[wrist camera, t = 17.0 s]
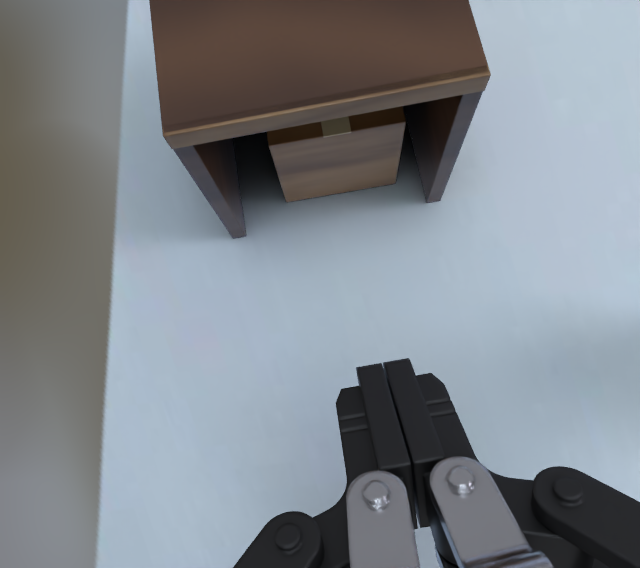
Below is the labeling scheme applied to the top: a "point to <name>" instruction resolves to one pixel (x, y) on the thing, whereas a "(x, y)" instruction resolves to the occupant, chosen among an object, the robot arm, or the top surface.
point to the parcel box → (338, 154)
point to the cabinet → (312, 78)
